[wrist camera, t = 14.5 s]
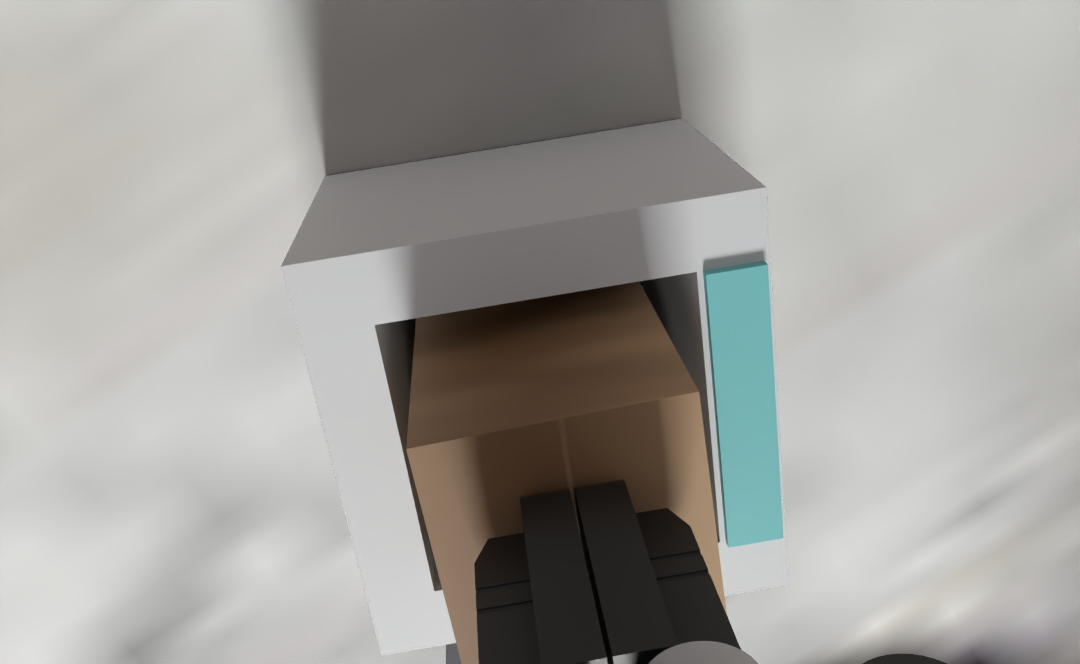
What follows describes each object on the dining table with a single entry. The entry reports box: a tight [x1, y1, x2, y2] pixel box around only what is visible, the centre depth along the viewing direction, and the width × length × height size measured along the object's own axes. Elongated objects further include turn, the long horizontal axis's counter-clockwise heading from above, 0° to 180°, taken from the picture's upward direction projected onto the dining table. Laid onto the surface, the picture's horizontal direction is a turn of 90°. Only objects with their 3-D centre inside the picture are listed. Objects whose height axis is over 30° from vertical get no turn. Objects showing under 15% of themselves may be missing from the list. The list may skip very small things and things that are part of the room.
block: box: [406, 282, 727, 664], centre depth 18 cm, size 4×4×9 cm
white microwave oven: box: [281, 119, 788, 656], centre depth 20 cm, size 8×8×6 cm
